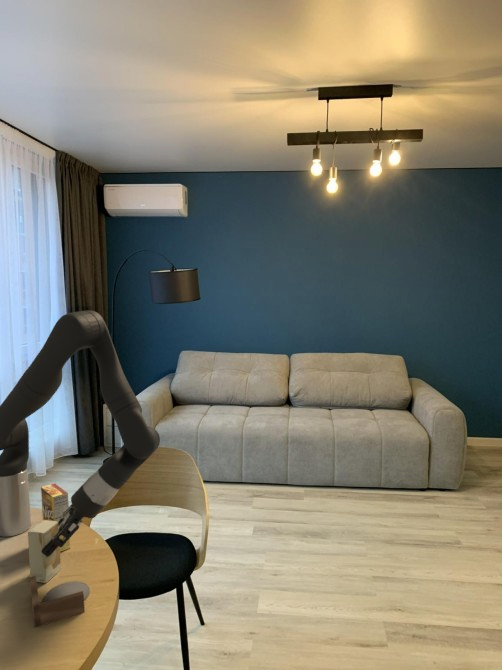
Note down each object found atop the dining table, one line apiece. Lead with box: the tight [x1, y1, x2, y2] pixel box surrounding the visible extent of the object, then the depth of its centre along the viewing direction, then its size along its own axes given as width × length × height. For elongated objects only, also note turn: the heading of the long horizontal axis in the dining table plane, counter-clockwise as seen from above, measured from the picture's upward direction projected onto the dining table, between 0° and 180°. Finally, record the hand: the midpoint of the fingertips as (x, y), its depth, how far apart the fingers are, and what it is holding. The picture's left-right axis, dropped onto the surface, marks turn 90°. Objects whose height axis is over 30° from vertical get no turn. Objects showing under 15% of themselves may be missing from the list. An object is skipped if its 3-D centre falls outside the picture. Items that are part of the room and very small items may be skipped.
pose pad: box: [43, 580, 91, 602], centre depth 108 cm, size 10×10×1 cm
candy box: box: [40, 483, 71, 553], centre depth 129 cm, size 9×4×15 cm, turn 43°
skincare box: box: [27, 519, 62, 584], centre depth 116 cm, size 6×4×12 cm
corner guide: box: [29, 576, 85, 628], centre depth 106 cm, size 12×10×4 cm
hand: (48, 544), depth 116 cm, fingers open, 8 cm apart
